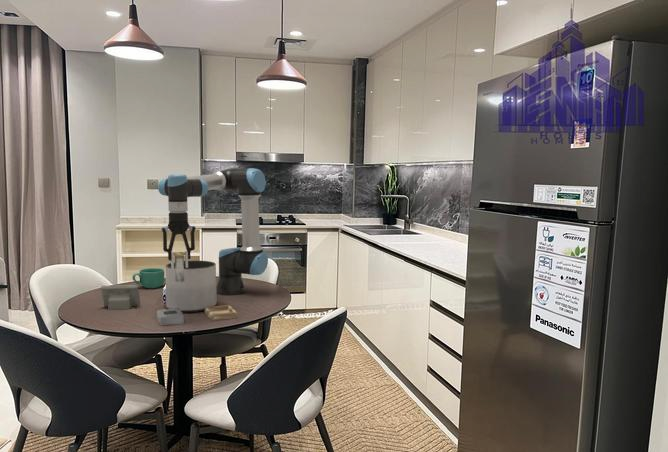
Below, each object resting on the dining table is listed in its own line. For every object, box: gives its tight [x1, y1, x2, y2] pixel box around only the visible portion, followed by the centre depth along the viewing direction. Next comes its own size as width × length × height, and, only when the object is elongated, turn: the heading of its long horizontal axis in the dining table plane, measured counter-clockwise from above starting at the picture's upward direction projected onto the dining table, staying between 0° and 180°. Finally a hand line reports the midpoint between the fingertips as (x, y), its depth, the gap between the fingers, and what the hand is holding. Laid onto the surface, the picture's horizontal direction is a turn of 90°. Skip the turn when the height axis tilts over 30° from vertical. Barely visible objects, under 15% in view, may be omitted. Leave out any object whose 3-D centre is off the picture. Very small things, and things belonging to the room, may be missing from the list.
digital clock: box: [100, 284, 141, 311], centre depth 222 cm, size 16×9×11 cm, turn 87°
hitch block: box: [156, 308, 185, 327], centre depth 202 cm, size 12×9×4 cm
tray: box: [204, 304, 238, 322], centre depth 211 cm, size 14×11×2 cm
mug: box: [132, 267, 165, 290], centre depth 263 cm, size 17×13×10 cm
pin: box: [173, 251, 186, 282], centre depth 202 cm, size 5×5×12 cm
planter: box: [165, 260, 218, 313], centre depth 224 cm, size 23×23×20 cm
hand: (179, 267), depth 202 cm, fingers closed on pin, 5 cm apart
